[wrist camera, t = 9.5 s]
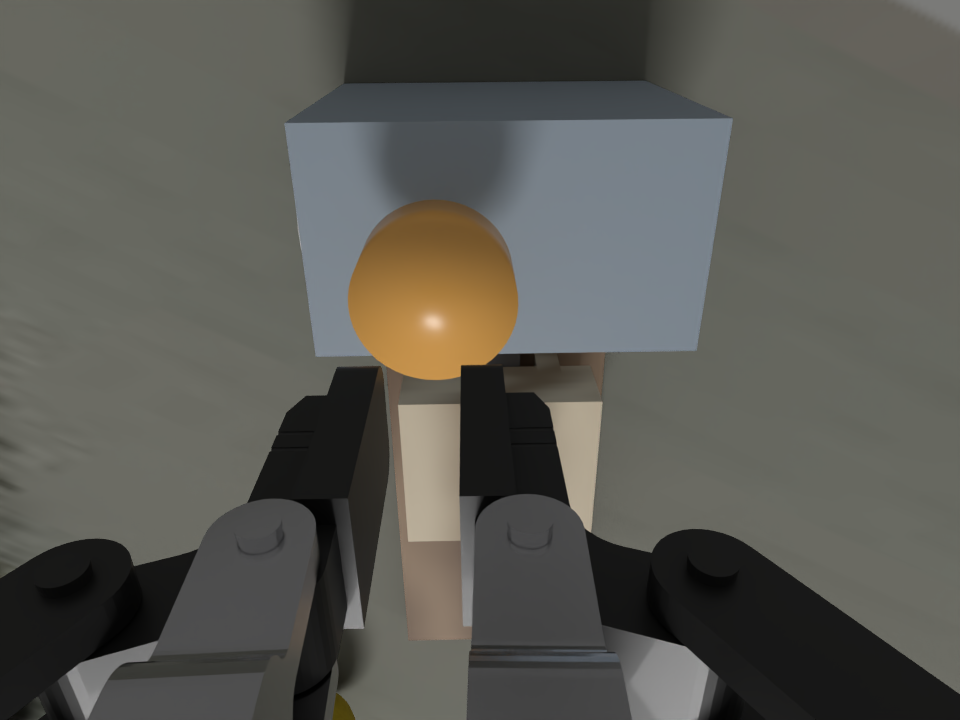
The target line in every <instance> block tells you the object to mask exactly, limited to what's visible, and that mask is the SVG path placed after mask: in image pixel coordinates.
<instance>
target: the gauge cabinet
mask: <svg viewBox="0 0 960 720" xmlns="http://www.w3.org/2000/svg"><path fill="white" fill-rule="evenodd" d="M732 121H733V118H731V117H729V116H726V115H724V114H722V113H719V112H717V111H715V110H712V109H710V108H708V107H705V106H703V105H701V104H699V103H696V102H694V101H692V100H689V99H687V98H685V97H682V96H680V95H678V94H675V93H673V92H671V91H668V90H666V89H664V88H662V87H659V86H657V85H655V84H652V83H650V82H648V81H555V82H453V83H351V84H342V85H341V86H339V87H338V88H336V89H335V90H333V91H332V92H330V93H329V94H327V95H326V96H324V97H323V98H321V99H320V100H318V101H317V102H315V103H314V104H312V105H311V106H309V107H308V108H306V109H305V110H303V111H302V112H300V113H299V114H297V115H296V116H294V117H293V118H291V119H290V120H288V121H287V122H285V130H286V138H287V145H288V153H289V160H290V167H291V175H292V182H293V190H294V197H295V205H296V212H297V223H298V231H299V239H300V245H301V250H302V257H303V264H304V272H305V279H306V287H307V294H308V302H309V309H310V317H311V324H312V332H313V339H314V346H315V354H316V357H322V356H373V355H372V354H371V353H370V352H369V351H368V350H367V349H366V348H365V347H364V345H363V344H362V342H361V341H360V339H359V338H358V336H357V334H356V332H355V330H354V328H353V325H352V322H351V319H350V315H349V309H348V290H349V284H350V280H351V276H352V274H353V272H354V269H355V267H356V264H357V262H358V259H359V257H360V255H361V252H362V250H363V247H364V245H365V243H366V240H367V238H368V237H369V235H370V233H371V232H372V230H373V229H374V228H375V227H376V225H377V224H378V223H379V222H380V221H381V220H382V219H383V218H384V217H385V216H387V215H388V214H390V213H391V212H393V211H394V210H396V209H398V208H400V207H402V206H404V205H407V204H410V203H413V202H417V201H422V200H433V199H435V200H447V201H452V202H456V203H460V204H463V205H465V206H468V207H470V208H472V209H474V210H475V211H477V212H479V213H480V214H482V215H483V216H484V217H486V218H487V219H488V220H489V221H490V222H491V223H492V224H493V225H494V226H495V227H496V228H497V229H498V231H499V232H500V234H501V235H502V237H503V238H504V240H505V242H506V244H507V246H508V249H509V252H510V255H511V259H512V264H513V270H514V275H515V281H516V286H517V292H518V315H517V319H516V323H515V327H514V329H513V332H512V334H511V336H510V338H509V340H508V341H507V343H506V344H505V346H504V347H503V348H502V350H501V351H500V352H499V353H498V354H518V353H583V352H648V351H696V350H697V344H698V337H699V331H700V325H701V318H702V312H703V306H704V299H705V293H706V287H707V280H708V274H709V267H710V261H711V255H712V248H713V242H714V236H715V229H716V223H717V217H718V210H719V204H720V197H721V191H722V185H723V178H724V172H725V166H726V159H727V153H728V147H729V140H730V134H731V127H732Z"/></svg>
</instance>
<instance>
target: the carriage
mask: <svg viewBox="0 0 960 720" xmlns="http://www.w3.org/2000/svg"><path fill="white" fill-rule="evenodd" d="M503 372H504V382H505V391H506V393H513V392H534V393H535V394H536V395H537V396H538V397H539V398H540V399H541V400H542V401H543V402H544V403H545V404H546V405H547V406H548V407H549V408H550V412H551V417H552V422H553V427H554V432H555V436H556V441H557V447H558V451H559V455H560V460H561V465H562V470H563V475H564V479H565V484H566V489H567V494H568V499H569V503H570V507H571V509H573V510H574V511H575V512H576V513H577V514H578V516H579V517H580V519H581V520H582V522H583V525H584V528H585V529H586V530H588V531H589V532H591V526H592V515H593V504H594V493H595V481H596V470H597V459H598V448H599V437H600V425H601V414H602V403H603V401H602V398H601V396H600V393H599V390H598V387H597V384H596V381H595V378H594V375H593V372H592V369H591V367H590V366H560V364H559V360H558V356H557V353H534V366H529V367H503ZM460 392H461V376H460V377H457V378H451V379H444V380H425V379H419V378H414V377H410V376H406V375H404V374H403V378H402V384H401V390H400V397H399V403H398V411H399V424H400V438H401V451H402V465H403V478H404V492H405V506H406V519H407V533H408V542H419V541H461V540H460V503H459V481H460Z"/></svg>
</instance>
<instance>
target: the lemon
mask: <svg viewBox="0 0 960 720" xmlns="http://www.w3.org/2000/svg"><path fill="white" fill-rule="evenodd" d="M332 720H355V717H354V715H353V712H352V710H351V708H350V706H349V705H348V703H347V702H346V701H345V700H344V699H343V698H342V697H341V696H340V695H339V694H337V693H336V697H335V704H334V711H333V718H332Z"/></svg>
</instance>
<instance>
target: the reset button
mask: <svg viewBox="0 0 960 720" xmlns="http://www.w3.org/2000/svg"><path fill="white" fill-rule="evenodd" d="M348 309H349V315H350V319H351V322H352V325H353V328H354V330H355V332H356V334H357V336H358V338H359V339H360V341H361V342H362V344H363V345H364V347H365V348H366V349H367V350H368V351H369V352H370V353H371V354H372V355H373V356H374V357H375V358H376V359H377V360H378V361H380V362H381V363H383V364H384V365H385V366H387V367H389V368H391V369H392V370H394V371H396V372H399V373H401V374H404V375H406V376H410V377H414V378H419V379H425V380H444V379H451V378H457V377H460V376H461V365H486V364H487V363H488V362H489V361H491V360H492V359H493V358H494V357H495V356H496V355H497V354H498V353H499V352H500V351H501V350H502V348H503V347H504V346H505V344H506V343H507V341H508V340H509V338H510V336H511V334H512V332H513V329H514V327H515V323H516V319H517V315H518V292H517V286H516V281H515V275H514V270H513V264H512V259H511V255H510V252H509V249H508V246H507V244H506V242H505V240H504V238H503V237H502V235H501V234H500V232H499V231H498V229H497V228H496V227H495V226H494V225H493V224H492V223H491V222H490V221H489V220H488V219H487V218H486V217H484V216H483V215H482V214H480V213H479V212H477V211H475V210H474V209H472V208H470V207H468V206H465V205H463V204H460V203H456V202H452V201H447V200H435V199H433V200H422V201H417V202H413V203H410V204H407V205H404V206H402V207H400V208H398V209H396V210H394V211H393V212H391V213H390V214H388V215H387V216H385V217H384V218H383V219H382V220H381V221H380V222H379V223H378V224H377V225H376V227H375V228H374V229H373V230H372V232H371V233H370V235H369V237H368V238H367V240H366V243H365V245H364V247H363V250H362V252H361V255H360V257H359V259H358V262H357V264H356V267H355V269H354V272H353V274H352V276H351V280H350V284H349V290H348Z"/></svg>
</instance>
